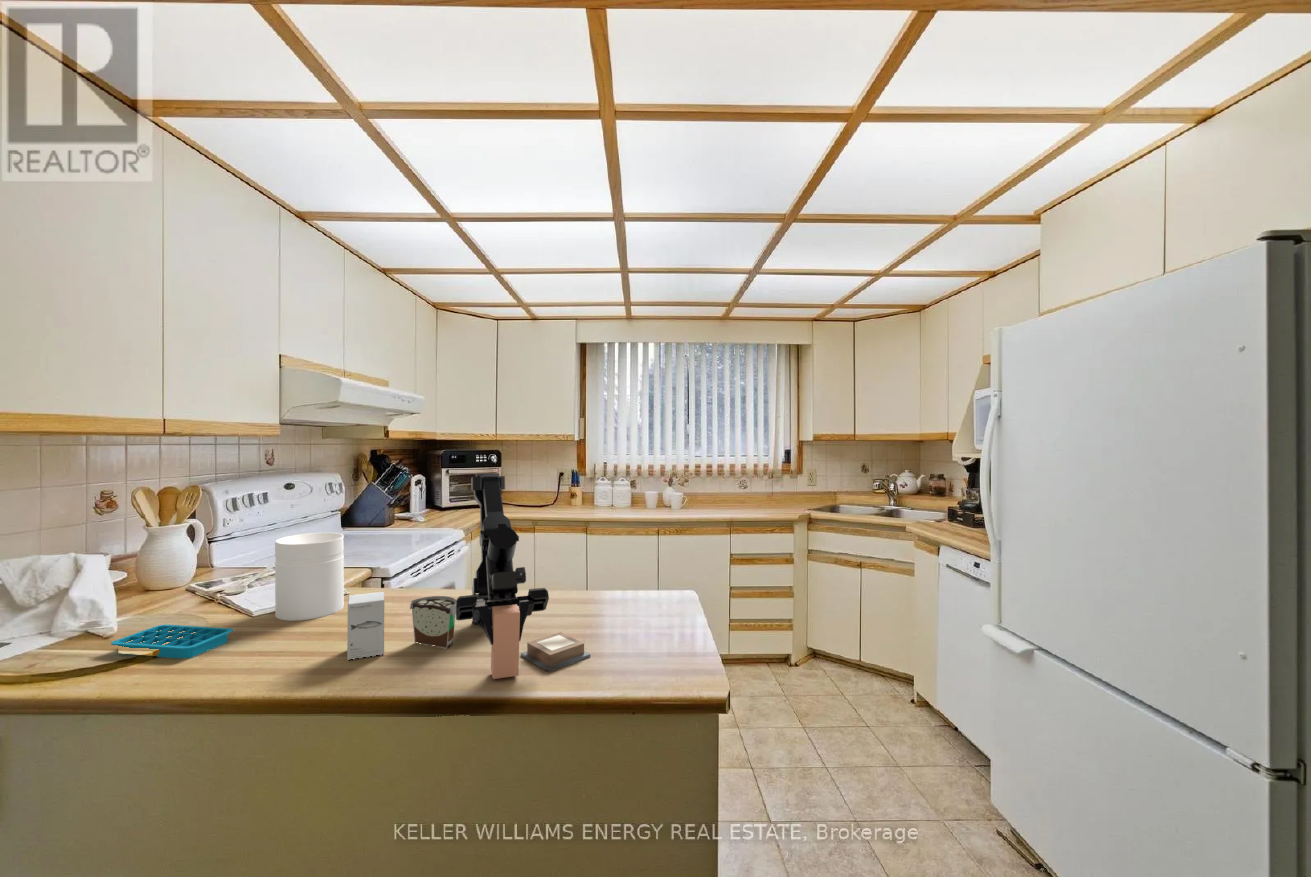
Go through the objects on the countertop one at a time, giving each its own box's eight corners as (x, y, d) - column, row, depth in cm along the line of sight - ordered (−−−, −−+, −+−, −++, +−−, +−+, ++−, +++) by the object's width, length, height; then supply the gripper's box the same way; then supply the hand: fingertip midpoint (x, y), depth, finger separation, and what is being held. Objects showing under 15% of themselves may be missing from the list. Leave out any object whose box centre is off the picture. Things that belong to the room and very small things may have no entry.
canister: (355, 607, 152) (355, 536, 152) (292, 625, 139) (292, 547, 138) (326, 597, 161) (325, 530, 160) (264, 612, 147) (263, 539, 147)
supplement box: (346, 662, 118) (346, 604, 117) (348, 649, 124) (348, 594, 124) (384, 655, 121) (384, 599, 121) (384, 643, 128) (384, 590, 127)
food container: (469, 640, 130) (470, 598, 130) (452, 649, 125) (452, 606, 124) (428, 633, 134) (428, 593, 134) (409, 642, 129) (409, 600, 128)
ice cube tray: (161, 636, 131) (161, 624, 131) (236, 641, 129) (236, 628, 129) (107, 656, 120) (107, 643, 120) (188, 662, 117) (188, 648, 117)
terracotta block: (490, 668, 113) (492, 606, 113) (515, 665, 115) (516, 604, 115) (492, 679, 109) (494, 614, 108) (518, 675, 110) (519, 612, 110)
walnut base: (520, 655, 122) (520, 642, 122) (561, 642, 129) (561, 629, 129) (548, 672, 114) (548, 657, 114) (590, 656, 122) (590, 642, 122)
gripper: (456, 558, 111) (458, 630, 101) (547, 551, 118) (557, 618, 108) (455, 585, 119) (456, 655, 109) (540, 577, 126) (549, 642, 116)
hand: (506, 642), depth 110 cm, fingers closed on terracotta block, 5 cm apart
